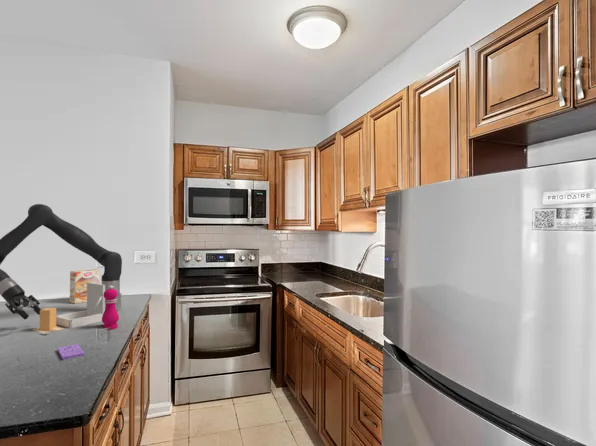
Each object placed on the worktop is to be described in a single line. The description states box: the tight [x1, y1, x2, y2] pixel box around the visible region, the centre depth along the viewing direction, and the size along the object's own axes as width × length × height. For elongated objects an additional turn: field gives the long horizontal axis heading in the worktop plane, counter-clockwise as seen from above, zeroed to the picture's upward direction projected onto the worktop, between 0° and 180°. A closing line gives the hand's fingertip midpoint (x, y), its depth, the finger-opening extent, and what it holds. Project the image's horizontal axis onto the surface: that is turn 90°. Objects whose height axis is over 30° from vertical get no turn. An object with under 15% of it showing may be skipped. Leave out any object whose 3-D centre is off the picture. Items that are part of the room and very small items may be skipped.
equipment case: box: [56, 283, 105, 329], centre depth 179 cm, size 17×14×18 cm
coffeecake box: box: [69, 268, 100, 305], centre depth 231 cm, size 15×7×20 cm, turn 147°
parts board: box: [30, 325, 66, 337], centre depth 167 cm, size 9×12×1 cm
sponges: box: [56, 343, 85, 360], centre depth 139 cm, size 7×13×2 cm, turn 41°
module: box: [39, 307, 57, 330], centre depth 167 cm, size 4×4×9 cm
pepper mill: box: [101, 286, 120, 331], centre depth 173 cm, size 7×7×20 cm
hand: (34, 315), depth 167 cm, fingers open, 8 cm apart
